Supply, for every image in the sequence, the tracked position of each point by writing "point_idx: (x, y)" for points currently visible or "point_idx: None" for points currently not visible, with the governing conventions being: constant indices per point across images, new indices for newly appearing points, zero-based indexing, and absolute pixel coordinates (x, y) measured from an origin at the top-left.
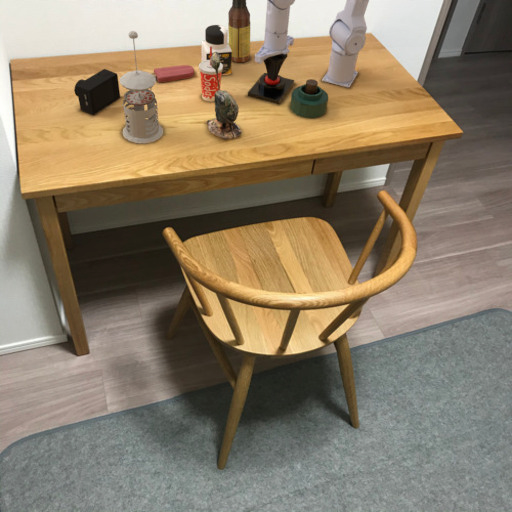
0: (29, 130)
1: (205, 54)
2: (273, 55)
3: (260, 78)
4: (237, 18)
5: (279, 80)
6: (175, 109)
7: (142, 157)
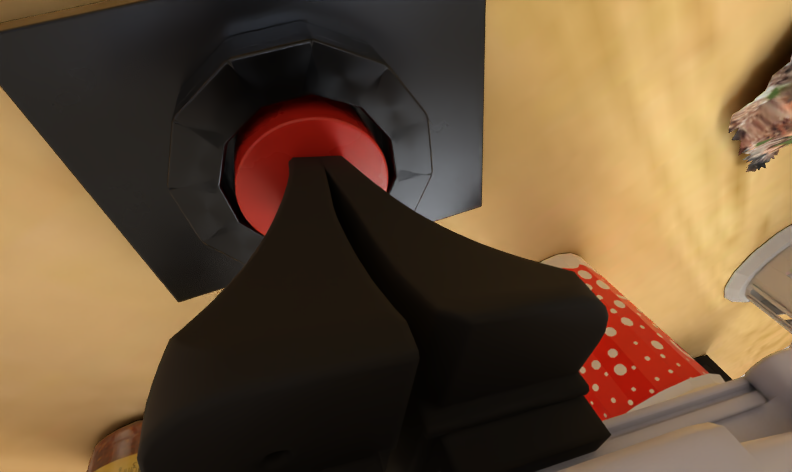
0: (756, 361)
1: None
2: (775, 447)
3: None
4: None
5: (283, 120)
6: (656, 289)
7: None
